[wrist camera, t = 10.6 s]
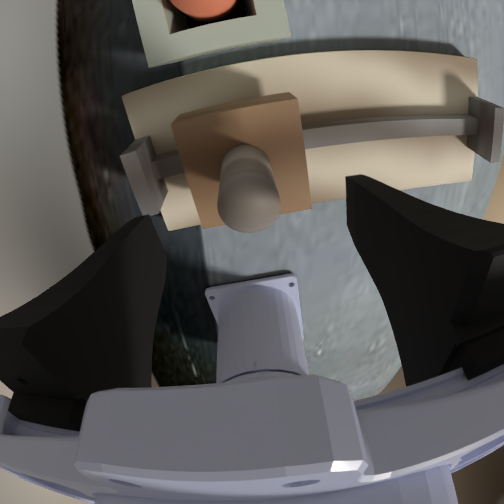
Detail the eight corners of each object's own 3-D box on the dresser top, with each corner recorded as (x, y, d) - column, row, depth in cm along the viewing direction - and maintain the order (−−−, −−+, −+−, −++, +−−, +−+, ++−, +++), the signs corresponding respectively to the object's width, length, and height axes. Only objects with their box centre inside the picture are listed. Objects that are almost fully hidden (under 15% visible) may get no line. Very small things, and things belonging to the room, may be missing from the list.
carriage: (303, 188, 18) (330, 253, 13) (206, 206, 19) (195, 277, 14) (289, 91, 15) (318, 116, 10) (179, 114, 15) (149, 151, 10)
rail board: (461, 172, 21) (492, 198, 17) (171, 220, 23) (160, 257, 19) (464, 56, 15) (504, 66, 11) (129, 92, 17) (102, 105, 13)
